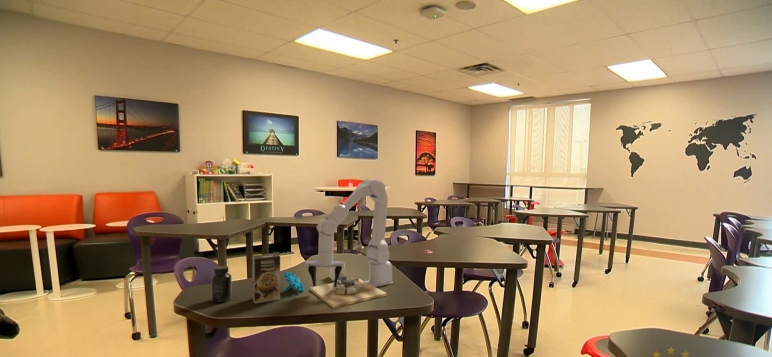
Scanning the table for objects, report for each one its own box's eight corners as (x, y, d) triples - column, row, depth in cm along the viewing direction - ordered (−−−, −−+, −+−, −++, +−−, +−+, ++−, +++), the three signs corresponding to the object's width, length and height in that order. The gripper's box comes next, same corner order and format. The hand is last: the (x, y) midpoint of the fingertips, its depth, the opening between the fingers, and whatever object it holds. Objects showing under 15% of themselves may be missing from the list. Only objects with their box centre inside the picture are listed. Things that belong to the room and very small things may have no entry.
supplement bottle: (235, 298, 127) (235, 265, 127) (221, 304, 121) (221, 270, 121) (221, 295, 130) (221, 264, 130) (206, 302, 123) (206, 269, 123)
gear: (301, 291, 129) (283, 272, 131) (289, 303, 129) (272, 283, 130) (309, 286, 140) (292, 268, 142) (298, 296, 140) (282, 278, 141)
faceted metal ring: (365, 291, 130) (365, 282, 130) (337, 295, 126) (337, 286, 126) (352, 279, 145) (352, 271, 145) (326, 282, 141) (326, 274, 141)
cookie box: (254, 304, 121) (254, 258, 121) (252, 298, 127) (252, 255, 127) (280, 299, 126) (280, 256, 125) (277, 294, 131) (277, 252, 131)
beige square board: (358, 280, 148) (358, 270, 148) (386, 295, 130) (386, 283, 130) (309, 290, 136) (309, 278, 136) (333, 308, 118) (333, 295, 118)
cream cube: (332, 281, 148) (332, 267, 148) (329, 277, 154) (329, 263, 154) (345, 279, 150) (345, 265, 150) (342, 275, 156) (342, 262, 156)
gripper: (345, 248, 136) (344, 283, 136) (308, 248, 136) (307, 282, 135) (344, 252, 129) (343, 288, 129) (305, 251, 128) (304, 288, 128)
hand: (324, 285), depth 132 cm, fingers open, 7 cm apart
